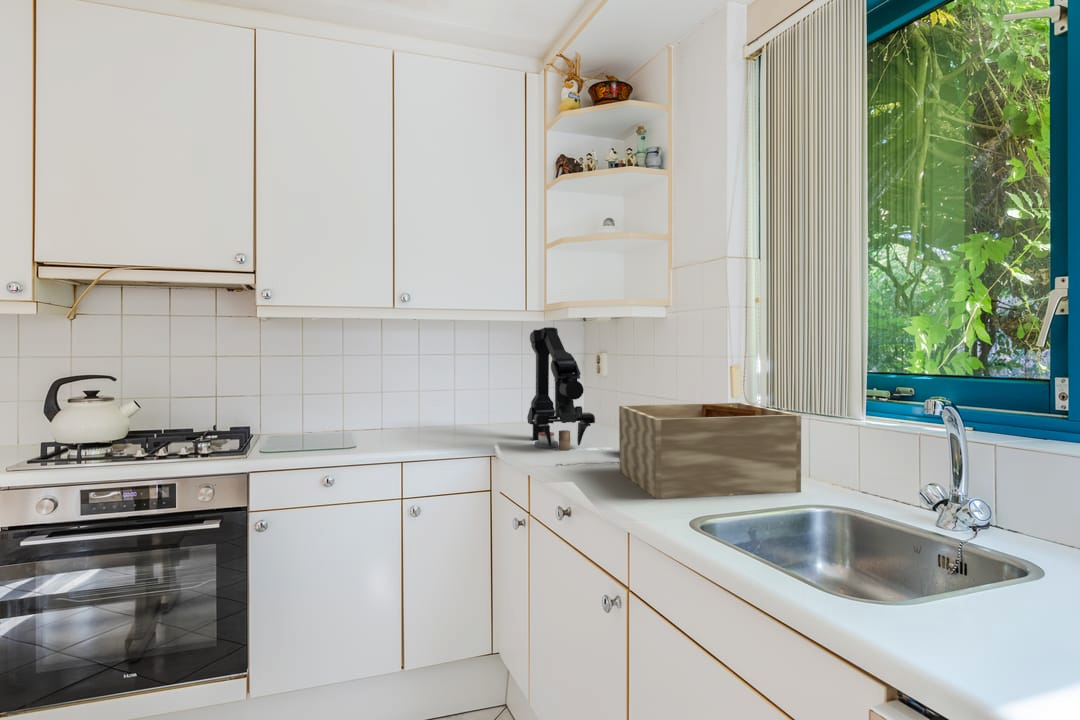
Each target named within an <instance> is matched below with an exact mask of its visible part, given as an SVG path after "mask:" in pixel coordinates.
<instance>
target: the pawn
mask: <svg viewBox="0 0 1080 720" xmlns="http://www.w3.org/2000/svg"><path fill="white" fill-rule="evenodd" d="M558 449H559V451H562V452H571V451H570V450H571V430H567V429H566V430H565V429H564V430H558Z"/></svg>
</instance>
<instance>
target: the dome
mask: <svg viewBox="0 0 1080 720" xmlns="http://www.w3.org/2000/svg"><path fill="white" fill-rule="evenodd" d="M538 435H539V443H545V444H547V443H548V441H547V438H546V435H545V432H540V433H538ZM550 436H551V443H554V441H555V432H554V431H553V432H552V431H550Z"/></svg>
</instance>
